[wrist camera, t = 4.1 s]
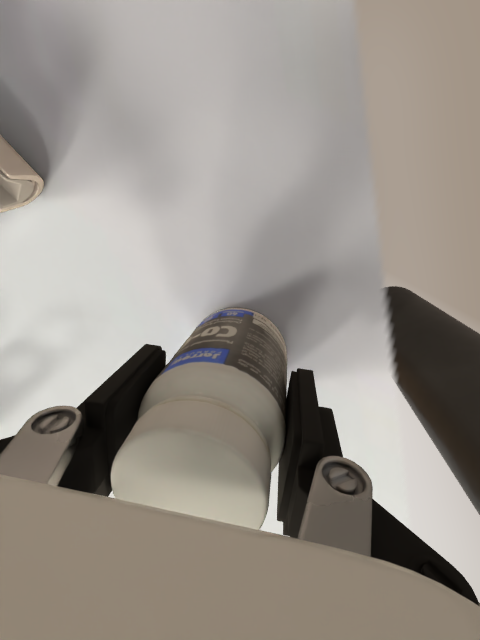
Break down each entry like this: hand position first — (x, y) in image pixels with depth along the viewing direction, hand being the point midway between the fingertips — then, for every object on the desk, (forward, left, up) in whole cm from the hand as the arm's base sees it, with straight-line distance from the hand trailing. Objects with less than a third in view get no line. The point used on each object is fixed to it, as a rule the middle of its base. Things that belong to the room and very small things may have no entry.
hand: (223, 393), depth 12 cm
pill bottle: (0, 0, -4) cm, 4 cm away
